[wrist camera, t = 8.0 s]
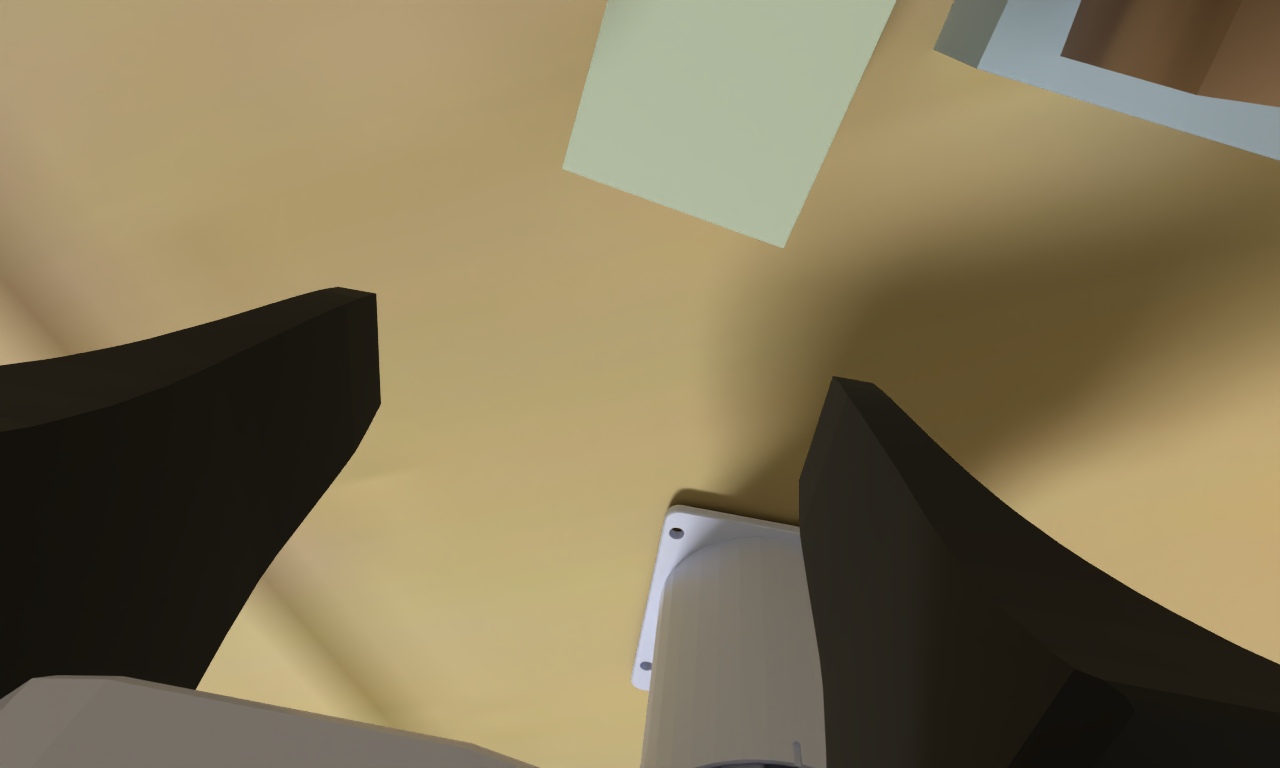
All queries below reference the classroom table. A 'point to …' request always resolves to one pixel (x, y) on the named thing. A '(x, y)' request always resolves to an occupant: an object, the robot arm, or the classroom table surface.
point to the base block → (1092, 72)
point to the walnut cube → (1185, 44)
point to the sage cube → (722, 103)
